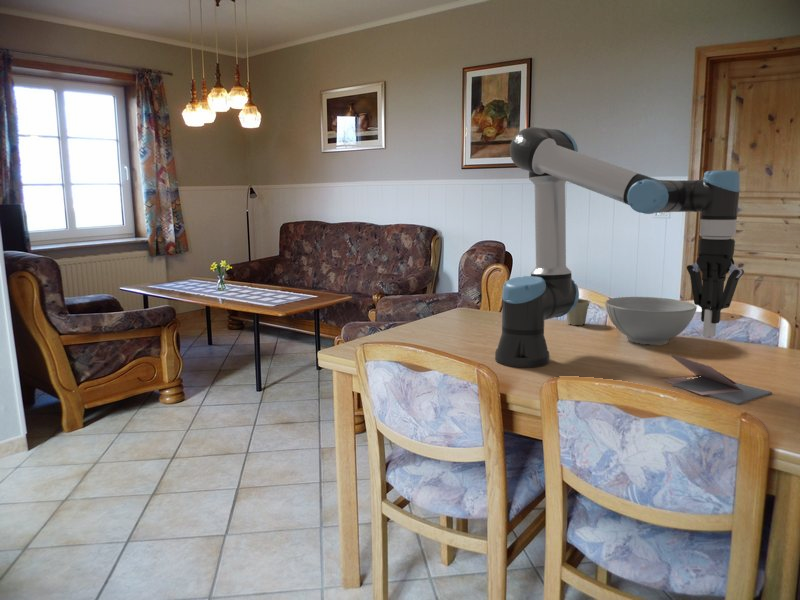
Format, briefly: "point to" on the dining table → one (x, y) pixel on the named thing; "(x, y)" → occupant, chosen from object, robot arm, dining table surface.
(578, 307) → the flower pot
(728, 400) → the mat
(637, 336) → the decorative bowl
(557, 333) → the dining table surface
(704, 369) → the greeting card
